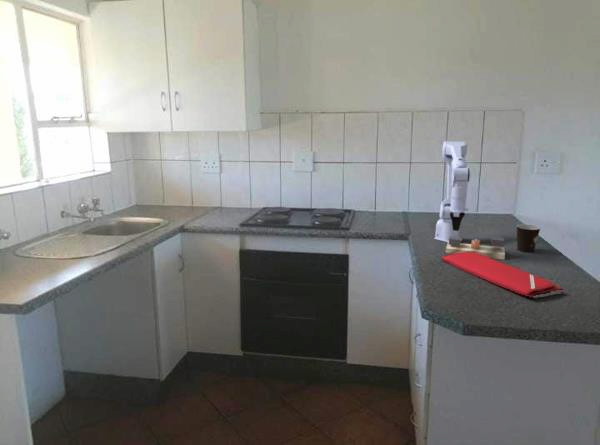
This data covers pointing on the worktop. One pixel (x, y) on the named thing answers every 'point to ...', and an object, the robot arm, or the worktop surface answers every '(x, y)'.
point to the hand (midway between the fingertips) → (455, 230)
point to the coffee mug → (527, 237)
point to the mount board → (477, 250)
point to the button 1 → (454, 240)
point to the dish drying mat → (501, 274)
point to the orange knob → (475, 244)
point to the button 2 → (497, 241)
